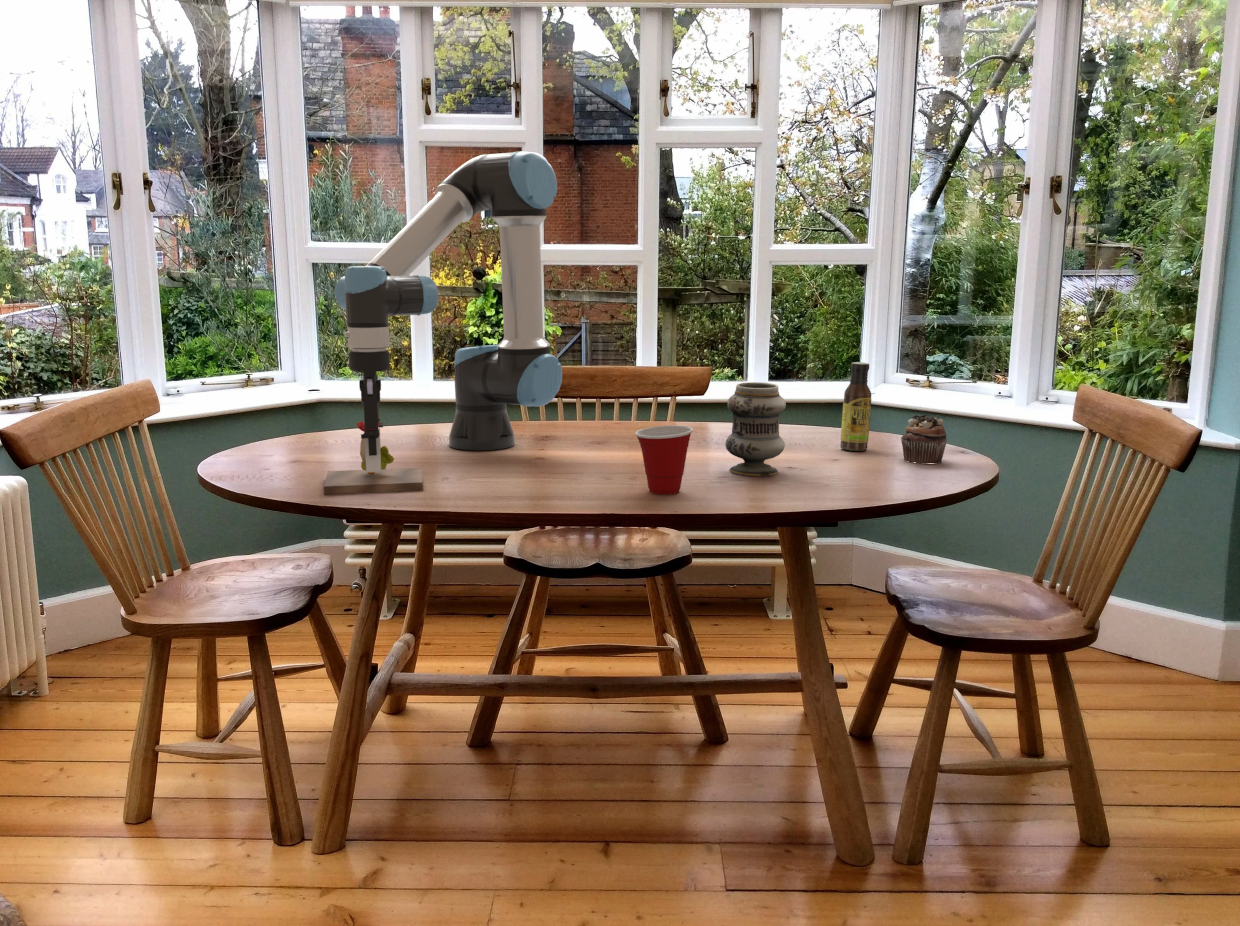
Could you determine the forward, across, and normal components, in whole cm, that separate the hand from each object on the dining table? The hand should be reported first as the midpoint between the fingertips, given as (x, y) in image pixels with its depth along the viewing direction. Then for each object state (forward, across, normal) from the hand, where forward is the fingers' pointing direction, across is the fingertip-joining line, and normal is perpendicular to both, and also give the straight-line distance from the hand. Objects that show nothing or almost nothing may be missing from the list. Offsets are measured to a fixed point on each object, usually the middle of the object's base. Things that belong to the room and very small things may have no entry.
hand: (373, 466), depth 200 cm
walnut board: (+3, 0, 0) cm, 3 cm away
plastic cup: (+4, +17, +53) cm, 56 cm away
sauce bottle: (+4, -16, +107) cm, 108 cm away
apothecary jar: (+4, +3, +76) cm, 76 cm away
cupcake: (+4, -1, +116) cm, 116 cm away
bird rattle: (+1, 0, 0) cm, 1 cm away
